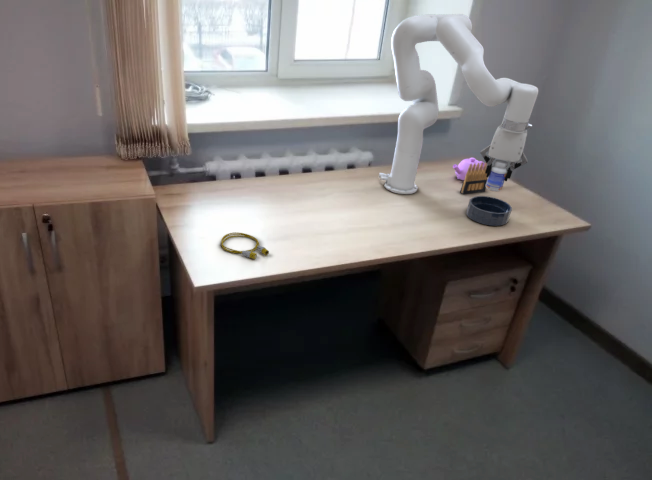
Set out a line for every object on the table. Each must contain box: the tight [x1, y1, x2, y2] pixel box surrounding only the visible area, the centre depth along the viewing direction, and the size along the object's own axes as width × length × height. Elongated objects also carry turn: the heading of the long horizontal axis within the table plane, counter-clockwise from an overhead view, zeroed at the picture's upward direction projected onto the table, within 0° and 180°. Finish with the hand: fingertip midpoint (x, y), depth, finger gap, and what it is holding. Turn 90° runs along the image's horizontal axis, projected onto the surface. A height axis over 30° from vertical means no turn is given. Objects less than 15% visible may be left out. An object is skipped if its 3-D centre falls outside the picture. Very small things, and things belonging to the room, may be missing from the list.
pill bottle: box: [486, 159, 509, 192], centre depth 178 cm, size 5×5×10 cm
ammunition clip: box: [459, 161, 488, 195], centre depth 202 cm, size 11×2×12 cm, turn 111°
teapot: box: [452, 157, 486, 182], centre depth 212 cm, size 10×15×9 cm
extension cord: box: [220, 232, 270, 260], centre depth 158 cm, size 12×16×2 cm
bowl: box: [465, 195, 513, 227], centre depth 185 cm, size 14×14×5 cm
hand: (496, 177), depth 179 cm, fingers closed on pill bottle, 5 cm apart
